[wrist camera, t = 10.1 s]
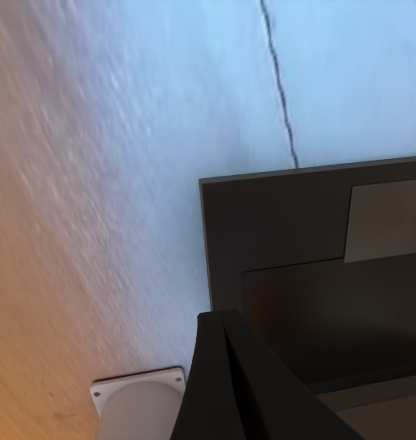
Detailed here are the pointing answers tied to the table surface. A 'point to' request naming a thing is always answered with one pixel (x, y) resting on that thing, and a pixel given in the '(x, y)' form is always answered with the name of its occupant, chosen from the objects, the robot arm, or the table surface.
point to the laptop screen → (377, 408)
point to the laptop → (320, 266)
